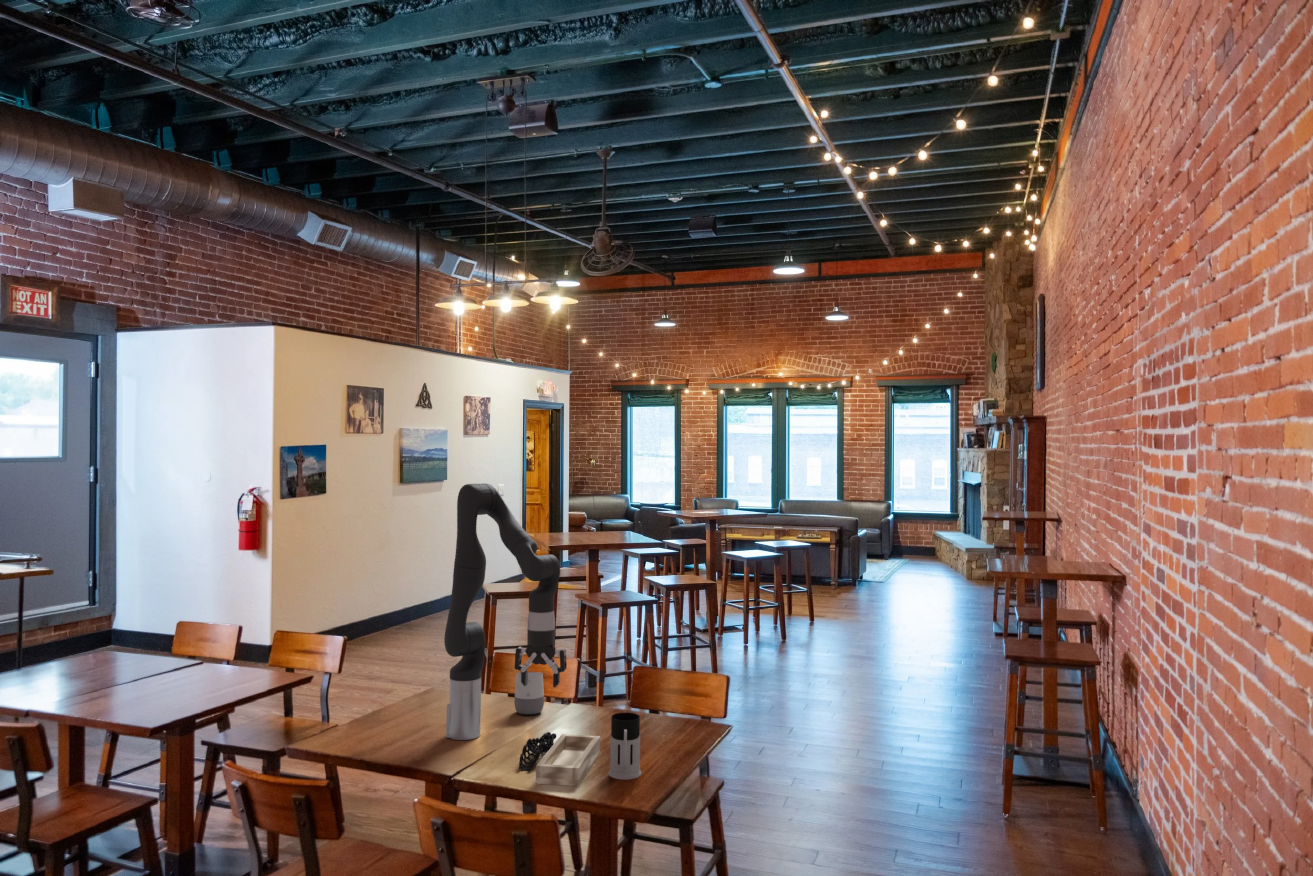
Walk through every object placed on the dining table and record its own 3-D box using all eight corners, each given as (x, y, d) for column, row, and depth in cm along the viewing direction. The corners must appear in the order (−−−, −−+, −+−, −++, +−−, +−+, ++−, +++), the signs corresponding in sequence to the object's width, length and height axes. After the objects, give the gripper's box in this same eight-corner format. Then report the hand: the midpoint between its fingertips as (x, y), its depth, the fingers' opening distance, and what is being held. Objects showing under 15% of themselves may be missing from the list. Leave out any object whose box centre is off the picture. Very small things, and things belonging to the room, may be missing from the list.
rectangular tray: (535, 783, 232) (536, 765, 232) (561, 750, 259) (561, 734, 259) (578, 786, 231) (578, 768, 231) (599, 752, 257) (599, 736, 258)
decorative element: (533, 773, 241) (534, 751, 241) (515, 771, 242) (516, 749, 242) (558, 747, 263) (559, 726, 263) (541, 745, 264) (542, 725, 264)
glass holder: (641, 768, 245) (641, 711, 245) (642, 787, 231) (642, 727, 231) (608, 768, 245) (609, 711, 245) (607, 787, 230) (608, 727, 231)
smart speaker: (544, 709, 301) (545, 666, 301) (542, 717, 292) (543, 673, 292) (515, 709, 300) (516, 666, 301) (513, 717, 291) (513, 673, 291)
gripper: (512, 628, 250) (511, 688, 250) (562, 630, 248) (562, 690, 248) (520, 623, 258) (519, 681, 257) (569, 625, 256) (568, 684, 255)
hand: (540, 686), depth 253 cm, fingers open, 8 cm apart
